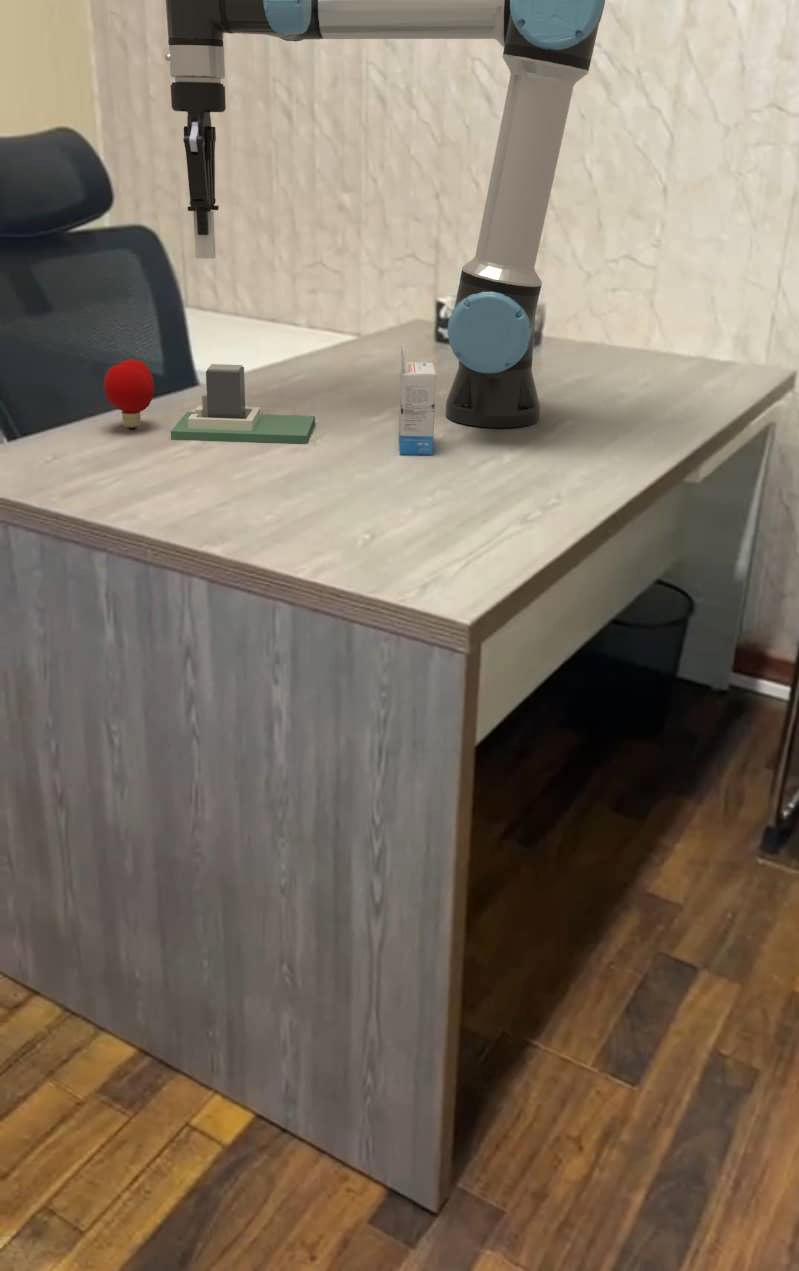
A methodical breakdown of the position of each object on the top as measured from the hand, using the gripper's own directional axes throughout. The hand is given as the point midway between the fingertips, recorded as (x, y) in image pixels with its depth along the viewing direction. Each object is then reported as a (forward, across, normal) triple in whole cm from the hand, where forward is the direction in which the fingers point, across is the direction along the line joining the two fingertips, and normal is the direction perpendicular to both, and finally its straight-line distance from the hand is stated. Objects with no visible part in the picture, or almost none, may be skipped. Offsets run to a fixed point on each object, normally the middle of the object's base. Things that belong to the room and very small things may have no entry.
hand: (205, 257), depth 171 cm
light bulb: (+25, +6, -11) cm, 28 cm away
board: (+24, +6, +6) cm, 26 cm away
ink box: (+25, +13, +32) cm, 42 cm away
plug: (+23, +6, +3) cm, 24 cm away
